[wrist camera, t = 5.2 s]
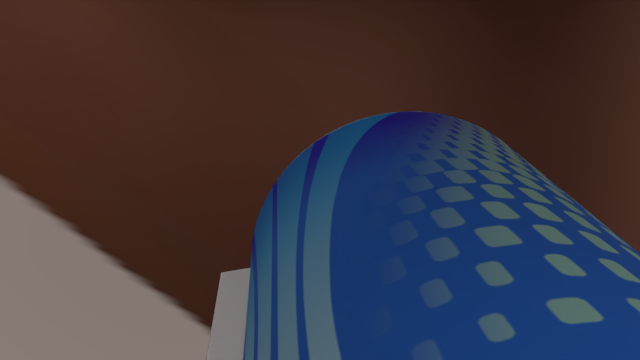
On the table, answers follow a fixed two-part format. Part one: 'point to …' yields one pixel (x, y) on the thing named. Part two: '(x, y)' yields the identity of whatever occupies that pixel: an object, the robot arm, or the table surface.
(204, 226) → the table surface
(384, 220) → the beer can
